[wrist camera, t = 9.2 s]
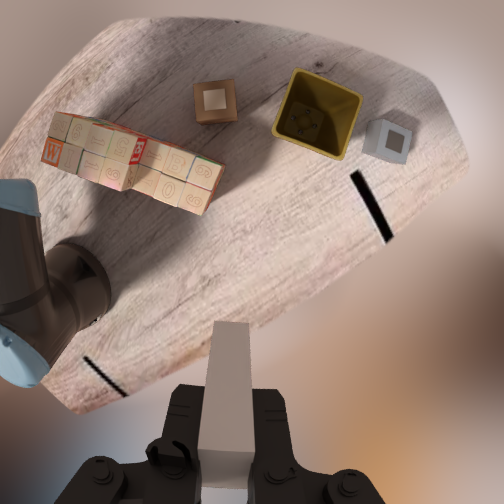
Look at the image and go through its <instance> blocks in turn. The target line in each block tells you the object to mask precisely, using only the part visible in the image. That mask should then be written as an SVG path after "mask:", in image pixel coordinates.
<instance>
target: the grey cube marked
mask: <svg viewBox="0 0 504 504" xmlns="http://www.w3.org/2000/svg"><path fill="white" fill-rule="evenodd" d="M411 137H412V131H410V130H408V129H406V128H404V127H401V126H399V125H397V124H395V123H392V122H390V121H388V120H385V119H378V120H373V121H369V122H368V127H367V131H366V136H365V140H364V144H363V149H362V153H365V154H368V155H370V156H373V157H376V158H378V159H381V160H384V161H386V162H389V163H396V164H404V165H405V164H406V160H407V156H408V151H409V147H410V142H411Z"/></svg>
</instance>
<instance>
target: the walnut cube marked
mask: <svg viewBox="0 0 504 504" xmlns="http://www.w3.org/2000/svg"><path fill="white" fill-rule="evenodd" d="M193 89H194V101H195V113H196V122H198V123H199V124H201V125H207V124H215V123H224V122H234V121H238V119H237V108H236V97H235V86H234V79H229V80H220V81H211V82H204V83H197V84H193Z"/></svg>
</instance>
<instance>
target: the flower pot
mask: <svg viewBox="0 0 504 504" xmlns="http://www.w3.org/2000/svg"><path fill="white" fill-rule="evenodd" d="M362 102H363V96H362V95H361V94H359V93H357V92H355V91H353V90H351V89H349V88H346V87H344V86H342V85H340V84H337V83H335V82H333V81H331V80H328V79H326V78H324V77H321V76H319V75H317V74H314V73H312V72H309V71H307V70H304V69H301V68H297V67H296V68H295V69H294V70H293V72H292V75H291V78H290V81H289V84H288V87H287V90H286V92H285V95H284V98H283V100H282V103H281V106H280V108H279V111H278V114H277V116H276V119H275V121H274V124H273V127H272V130H271V133H272V135H273V136H275V137H278V138H281V139H283V140H286V141H289V142H292V143H295V144H297V145H300V146H302V147H305V148H307V149H310V150H312V151H315V152H317V153H319V154H322V155H324V156H327V157H329V158H332V159H335V160H338V161H341V160H343V158H344V156H345V153H346V150H347V147H348V143H349V140H350V137H351V134H352V131H353V128H354V125H355V122H356V119H357V117H358V114H359V111H360V108H361V105H362ZM306 110H309V112H310V113H309V114H307V113H306ZM292 116H295V119H294V120H292V119H291V117H292ZM314 124H315V125H316V126H317V127H316V128H313V125H314ZM299 130H301V131H302V134H299V133H298V132H299Z"/></svg>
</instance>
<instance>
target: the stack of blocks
mask: <svg viewBox="0 0 504 504" xmlns="http://www.w3.org/2000/svg"><path fill="white" fill-rule="evenodd" d="M41 162H44V163H46V164H49V165H52V166H54V167H58V169H61V170H63V171H66V172H69V173H72V174H75V175H78V177H81V178H84V179H86V180H89V181H92V182H95V183H99V184H101V185H104V186H107V187H109V188H112V189H115V190H118V191H124V190H127V189H134V190H136V191H139V192H141V193H144V194H146V195H149V196H151V197H153V198H154V199H157V200H159V201H162V202H164V203H167V204H169V205H172V206H174V207H180V208H182V209H185V210H187V211H190V212H192V213H195V214H197V215H200V216H202V215H203V213H204V212H205V211H206V210H207V208H208V206H209V204H210V202H211V200H212V197H213V195H214V192H215V190H216V188H217V185H218V183H219V181H220V179H221V176H222V174H223V171H224V169H225V166H226V165H225V164H222V163H219V162H217V161H214V160H212V159H209V158H206V157H205V156H203V155H201V154H198V153H196V152H193V151H190V150H188V149H185V148H183V147H180V146H177V145H175V144H172V143H170V142H165V141H162V140H160V139H157V138H154V137H151V136H148V135H145V134H143V133H140V132H137V131H134V130H131V129H129V128H127V127H123V126H121V125H118V124H115V123H112V122H109V121H106V120H103V119H100V118H94V117H85V116H81V115H76V114H69V113H62V112H55V113H54V116H53V119H52V122H51V125H50V129H49V131H48V137H47V139H46V142H45V146H44V150H43V154H42V158H41Z"/></svg>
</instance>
